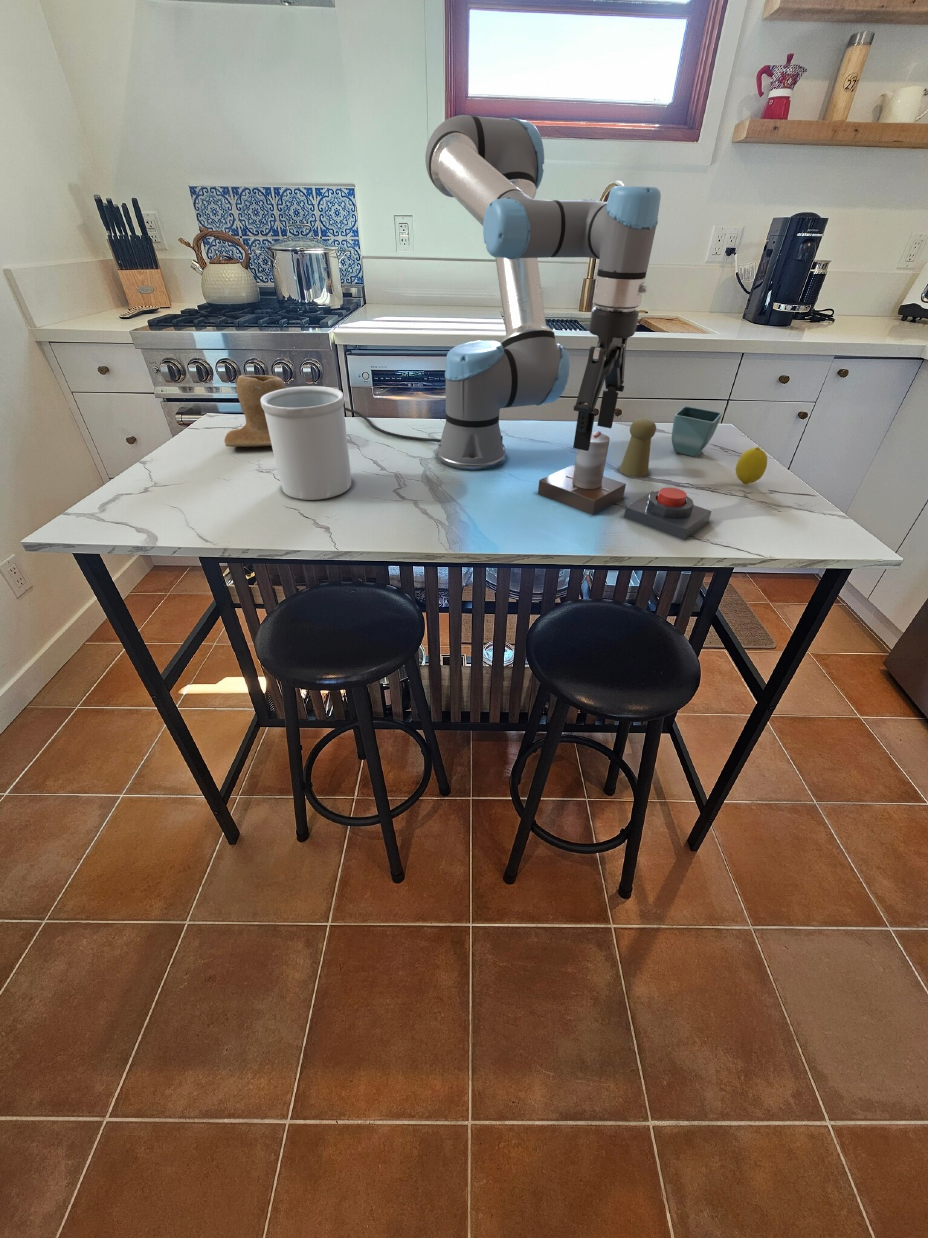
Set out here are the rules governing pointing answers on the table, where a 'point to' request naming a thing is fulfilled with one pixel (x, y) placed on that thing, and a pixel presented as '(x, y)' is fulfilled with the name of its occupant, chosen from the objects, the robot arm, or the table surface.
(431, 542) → the table surface
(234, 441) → the tan felt boot
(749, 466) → the lemon
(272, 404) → the utensil holder
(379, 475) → the table surface
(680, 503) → the button
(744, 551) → the table surface
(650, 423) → the olive pawn figure
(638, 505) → the button box
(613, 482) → the control panel
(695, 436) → the flower pot
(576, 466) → the knob
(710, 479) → the table surface
